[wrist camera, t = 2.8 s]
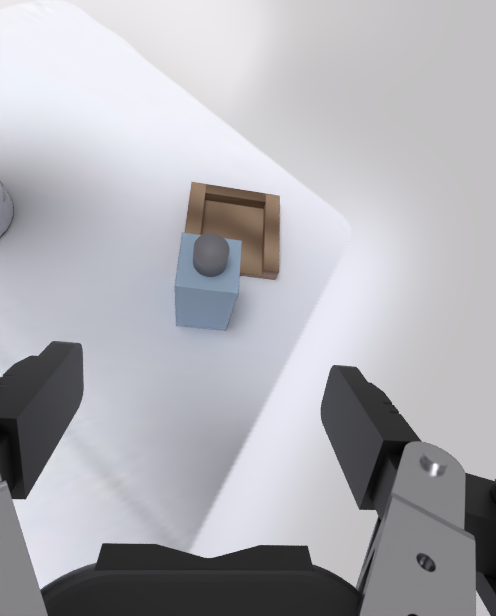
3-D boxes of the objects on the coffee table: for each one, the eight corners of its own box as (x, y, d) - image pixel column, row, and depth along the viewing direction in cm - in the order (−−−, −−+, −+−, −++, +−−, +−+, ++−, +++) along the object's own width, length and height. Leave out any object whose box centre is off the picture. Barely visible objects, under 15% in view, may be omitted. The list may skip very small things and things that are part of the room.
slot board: (275, 279, 37) (278, 271, 36) (180, 267, 36) (180, 259, 34) (275, 205, 41) (279, 195, 40) (191, 192, 40) (191, 181, 38)
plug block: (225, 330, 34) (242, 281, 25) (176, 325, 34) (174, 272, 24) (228, 287, 36) (245, 225, 27) (182, 281, 35) (182, 216, 26)
